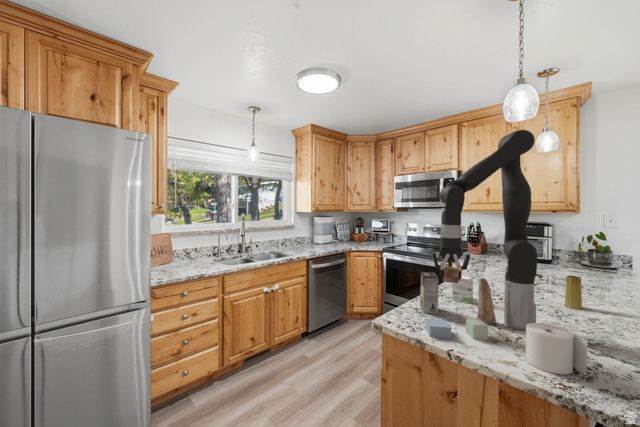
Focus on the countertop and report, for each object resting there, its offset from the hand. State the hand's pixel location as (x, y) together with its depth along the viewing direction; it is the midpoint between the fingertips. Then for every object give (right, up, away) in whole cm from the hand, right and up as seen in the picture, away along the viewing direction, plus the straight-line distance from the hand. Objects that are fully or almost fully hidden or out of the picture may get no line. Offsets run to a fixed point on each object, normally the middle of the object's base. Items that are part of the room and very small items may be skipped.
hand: (450, 279), depth 109 cm
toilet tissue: (+16, -18, -29) cm, 38 cm away
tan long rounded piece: (+15, -18, +1) cm, 23 cm away
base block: (-9, -18, -9) cm, 22 cm away
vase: (+67, -18, +19) cm, 72 cm away
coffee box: (-3, -17, +14) cm, 23 cm away
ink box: (+19, -17, +27) cm, 38 cm away
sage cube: (+4, -18, -11) cm, 21 cm away
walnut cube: (0, -1, 0) cm, 1 cm away
